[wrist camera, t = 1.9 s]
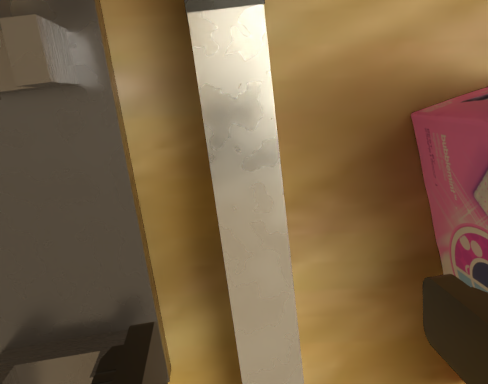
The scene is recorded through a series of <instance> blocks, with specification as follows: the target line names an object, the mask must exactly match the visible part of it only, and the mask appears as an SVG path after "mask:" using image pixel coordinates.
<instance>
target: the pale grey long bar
mask: <svg viewBox="0 0 488 384" xmlns="http://www.w3.org/2000/svg"><path fill="white" fill-rule="evenodd" d="M184 2H185V8H186V14H187V19H188V24H189V28H190V35H191V42H192V49H193V55H194V62H195V69H196V75H197V82H198V89H199V96H200V102H201V109H202V116H203V122H204V129H205V136H206V143H207V149H208V156H209V163H210V170H211V176H212V183H213V190H214V196H215V203H216V210H217V217H218V223H219V230H220V237H221V243H222V250H223V257H224V264H225V270H226V277H227V284H228V290H229V297H230V304H231V311H232V317H233V324H234V331H235V337H236V344H237V351H238V358H239V364H240V371H241V378H242V384H304V378H303V368H302V359H301V350H300V340H299V331H298V322H297V312H296V303H295V293H294V284H293V275H292V265H291V256H290V247H289V237H288V228H287V218H286V209H285V200H284V190H283V181H282V172H281V162H280V153H279V144H278V134H277V125H276V115H275V106H274V97H273V87H272V78H271V69H270V59H269V50H268V40H267V31H266V22H265V12H264V4H265V0H184Z"/></svg>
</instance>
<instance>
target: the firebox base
mask: <svg viewBox="0 0 488 384" xmlns="http://www.w3.org/2000/svg"><path fill="white" fill-rule="evenodd" d="M154 321H156V322H157V324H158V328H159V333H160V338H161V343H162V349H163V354H164V359H165V364H166V370H167V379H168V382H170V374H171V364H170V359H169V354H168V349H167V344H166V339H165V334H164V328H163V323H162V318H161V313H160V308H159V303H158V298H157V292H156V287H155V282H154V277H153V272H152V267H151V262H150V256H149V251H148V246H147V241H146V236H145V231H144V226H143V220H142V215H141V210H140V205H139V200H138V195H137V190H136V184H135V179H134V174H133V169H132V164H131V159H130V153H129V148H128V143H127V138H126V133H125V128H124V123H123V117H122V112H121V107H120V102H119V97H118V92H117V87H116V81H115V76H114V71H113V66H112V61H111V56H110V51H109V45H108V40H107V35H106V30H105V25H104V20H103V15H102V9H101V4H100V0H0V384H91V383H92V380H93V377H94V375H95V372H96V369H97V367H98V364H99V361H100V359H101V358H102V357H103V356H104V355H105V354H106V353H107V351H108V350H109V349H110V348H111V347H112V346H118V345H124V342H125V339H126V336H127V332H128V329H129V326H130V325H136V324H142V323H148V322H154Z"/></svg>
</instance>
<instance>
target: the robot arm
mask: <svg viewBox="0 0 488 384" xmlns="http://www.w3.org/2000/svg"><path fill="white" fill-rule="evenodd" d="M423 326H424V331H425V334H426V337H427V339H428V341H429V343H430V345H431V346H432V347H433V348H434V349H435V350H436V351H437V352H438V354H439V355H440V356H441V357H442V358H443V359H444V360H445V361H446V362H447V363H448V364H449V365H450V367H451V368H452V369H453V370H454V371H455V372H456V373H457V374H458V375H459V376H460V377H461V378H462V380H463V381H464V382H465V383H466V384H488V292H485V291H482V290H480V289H477V288H474V287H470V286H468V285H467V284H466V283H464V282H463V281H461V280H460V279H459V278H457V277H456V276H454V275H453V274H445V275H439V276H433V277H427V278H425V279H424V281H423ZM91 384H168V379H167V370H166V364H165V359H164V354H163V349H162V343H161V338H160V333H159V328H158V324H157V322H156V321H154V322H148V323H142V324H136V325H130V326H129V329H128V332H127V336H126V339H125V342H124V345H118V346H112V347H111V348H110V349H109V350H108V351H107V353H106V354H105V355H104V356H103V357H102V358H101V359H100V361H99V364H98V367H97V369H96V372H95V375H94V377H93V380H92V383H91Z"/></svg>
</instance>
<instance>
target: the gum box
mask: <svg viewBox="0 0 488 384" xmlns="http://www.w3.org/2000/svg"><path fill="white" fill-rule="evenodd" d="M411 118H412V122H413V126H414V131H415V136H416V141H417V146H418V150H419V154H420V159H421V167H422V172H423V177H424V183H425V187H426V191H427V195H428V199H429V204H430V209H431V214H432V221H433V227H434V232H435V237H436V243H437V246H438V248H439V253H440V258H441V263H442V268H443V275H445V274H453V275H454V276H456V277H457V278H459V279H460V280H461V281H463V282H464V283H466V284H467V285H468V286H470V287H474V288H477V289H480V290H482V291H485V292H488V87H486V88H483V89H480V90H476V91H473V92H470V93H467V94H464V95H461V96H458V97H455V98H452V99H449V100H447V101H444V102H441V103H438V104H435V105H432V106H430V107H427V108H424V109H421V110H419V111H416V112H413V113H411Z"/></svg>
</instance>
